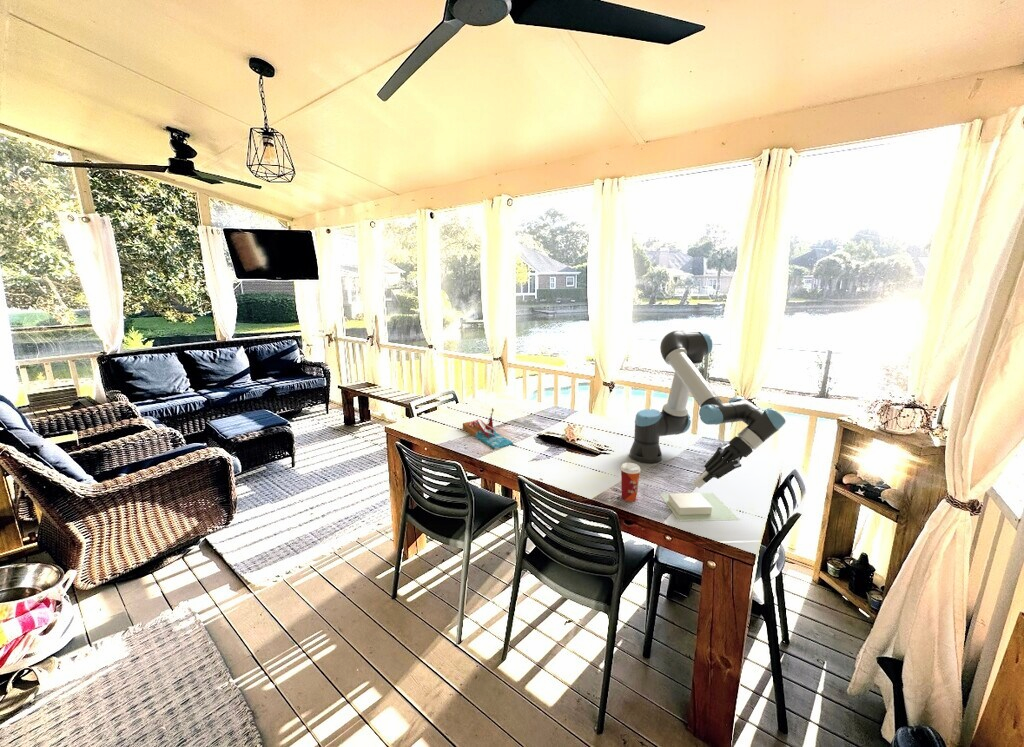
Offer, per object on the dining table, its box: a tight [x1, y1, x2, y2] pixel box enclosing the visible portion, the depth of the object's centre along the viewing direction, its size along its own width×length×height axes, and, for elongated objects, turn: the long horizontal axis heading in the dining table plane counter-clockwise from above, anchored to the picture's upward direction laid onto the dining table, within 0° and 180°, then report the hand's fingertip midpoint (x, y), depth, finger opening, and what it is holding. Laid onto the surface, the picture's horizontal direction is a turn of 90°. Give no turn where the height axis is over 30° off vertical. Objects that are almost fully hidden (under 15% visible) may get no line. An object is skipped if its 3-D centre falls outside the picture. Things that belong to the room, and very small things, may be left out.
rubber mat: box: [659, 492, 740, 522], centre depth 153 cm, size 19×22×1 cm
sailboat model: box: [462, 407, 514, 450], centre depth 226 cm, size 12×37×17 cm, turn 34°
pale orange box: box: [668, 492, 712, 515], centre depth 152 cm, size 10×3×12 cm
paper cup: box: [620, 462, 642, 503], centre depth 159 cm, size 8×8×14 cm
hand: (695, 485), depth 150 cm, fingers closed
